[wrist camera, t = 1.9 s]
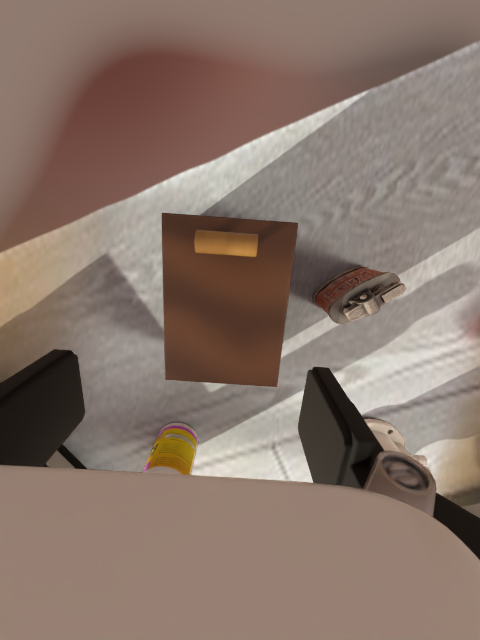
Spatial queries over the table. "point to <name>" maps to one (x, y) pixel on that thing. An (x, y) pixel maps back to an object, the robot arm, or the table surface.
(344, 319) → the lighter
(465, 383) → the table surface
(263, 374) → the lid
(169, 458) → the supplement bottle
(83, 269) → the table surface
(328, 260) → the table surface
